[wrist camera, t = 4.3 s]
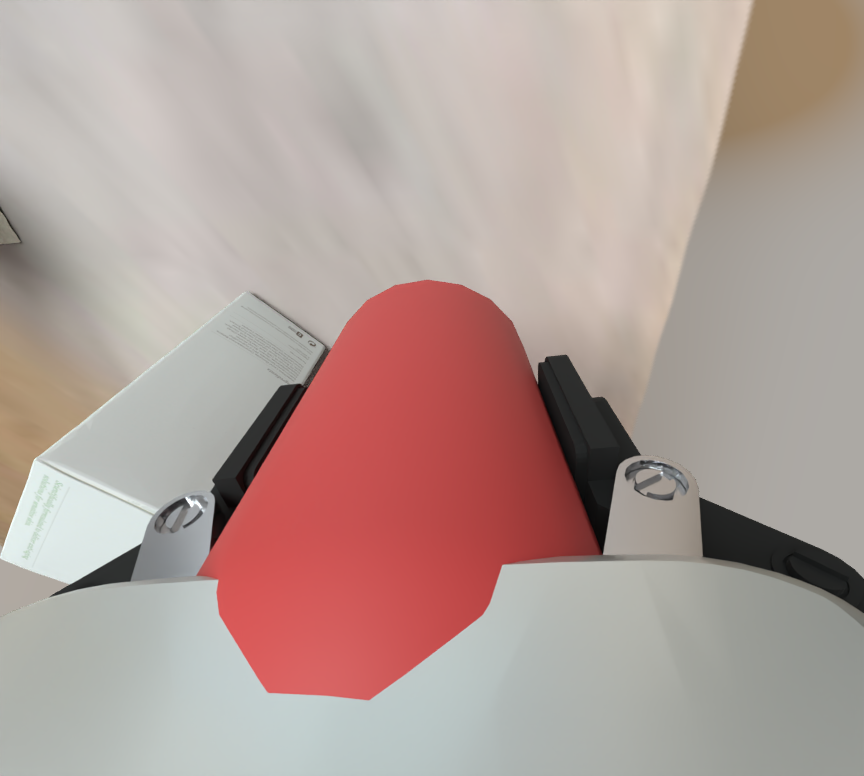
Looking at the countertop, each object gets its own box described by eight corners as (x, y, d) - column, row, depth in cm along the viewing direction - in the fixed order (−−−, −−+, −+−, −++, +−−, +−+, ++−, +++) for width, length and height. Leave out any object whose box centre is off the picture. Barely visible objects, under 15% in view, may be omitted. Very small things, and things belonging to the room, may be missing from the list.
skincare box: (249, 286, 25) (25, 446, 12) (334, 348, 27) (221, 542, 14) (197, 369, 29) (-17, 560, 16) (276, 418, 31) (144, 623, 18)
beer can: (403, 231, 12) (116, 737, 2) (562, 347, 14) (904, 939, 3) (309, 382, 15) (-8, 907, 5) (450, 461, 17) (452, 967, 6)
